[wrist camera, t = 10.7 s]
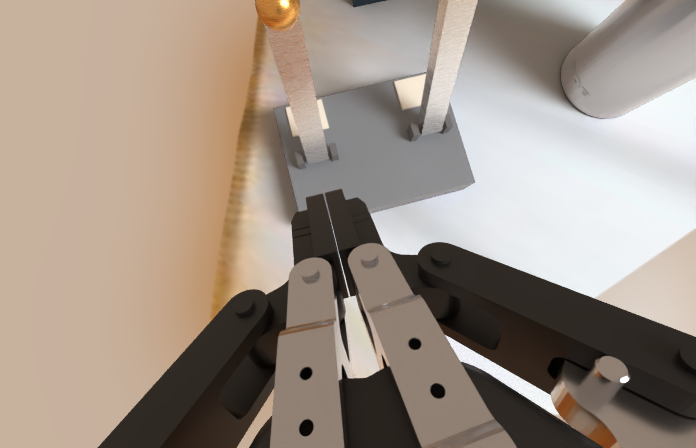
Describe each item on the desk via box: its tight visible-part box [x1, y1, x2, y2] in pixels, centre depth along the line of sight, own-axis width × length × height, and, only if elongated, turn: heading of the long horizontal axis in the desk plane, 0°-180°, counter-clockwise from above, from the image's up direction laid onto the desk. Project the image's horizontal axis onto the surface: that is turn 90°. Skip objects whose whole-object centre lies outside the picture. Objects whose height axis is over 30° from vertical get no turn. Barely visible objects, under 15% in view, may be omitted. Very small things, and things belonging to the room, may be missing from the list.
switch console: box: [273, 72, 475, 223], centre depth 30 cm, size 17×12×4 cm
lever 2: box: [417, 0, 478, 136], centre depth 23 cm, size 2×2×14 cm
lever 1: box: [255, 0, 329, 164], centre depth 22 cm, size 2×2×14 cm
